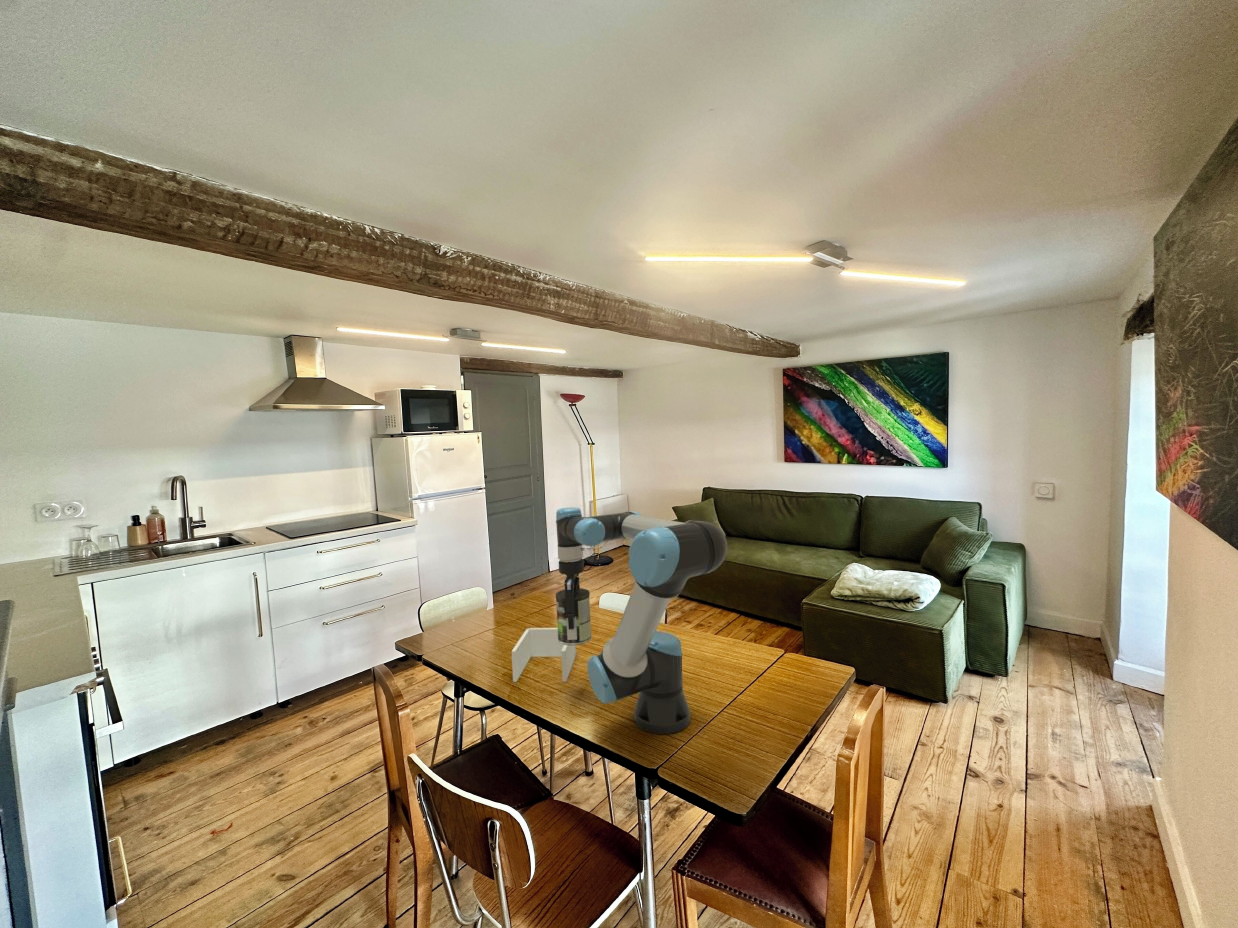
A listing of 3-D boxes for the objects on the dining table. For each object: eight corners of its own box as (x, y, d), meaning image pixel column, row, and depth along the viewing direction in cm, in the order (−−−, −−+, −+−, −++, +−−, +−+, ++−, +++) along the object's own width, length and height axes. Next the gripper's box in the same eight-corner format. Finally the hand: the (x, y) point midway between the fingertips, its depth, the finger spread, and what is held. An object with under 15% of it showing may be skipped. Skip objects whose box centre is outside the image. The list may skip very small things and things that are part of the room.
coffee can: (563, 648, 140) (560, 600, 140) (554, 636, 150) (551, 591, 149) (596, 641, 144) (594, 594, 144) (585, 630, 154) (583, 586, 153)
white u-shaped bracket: (566, 681, 156) (565, 651, 155) (513, 681, 157) (511, 651, 157) (575, 655, 175) (574, 627, 174) (528, 655, 176) (527, 628, 176)
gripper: (578, 567, 135) (582, 646, 135) (587, 550, 157) (590, 618, 158) (551, 568, 135) (556, 647, 136) (564, 551, 158) (567, 619, 158)
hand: (574, 632), depth 147 cm, fingers closed on coffee can, 10 cm apart
